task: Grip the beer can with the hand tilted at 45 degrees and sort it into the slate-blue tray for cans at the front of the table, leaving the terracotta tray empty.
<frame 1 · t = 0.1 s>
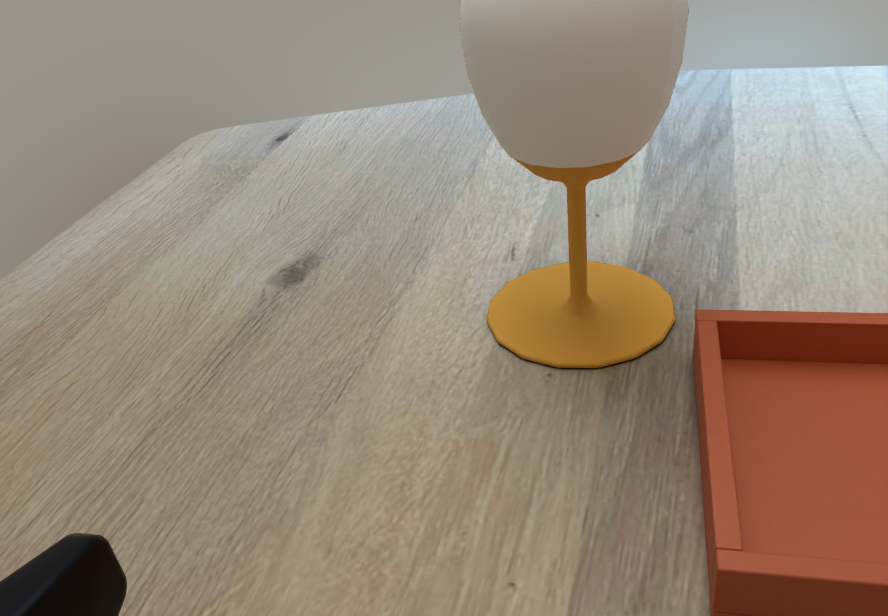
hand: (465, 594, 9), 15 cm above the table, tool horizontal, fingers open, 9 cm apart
cup: (579, 316, 40), on the table
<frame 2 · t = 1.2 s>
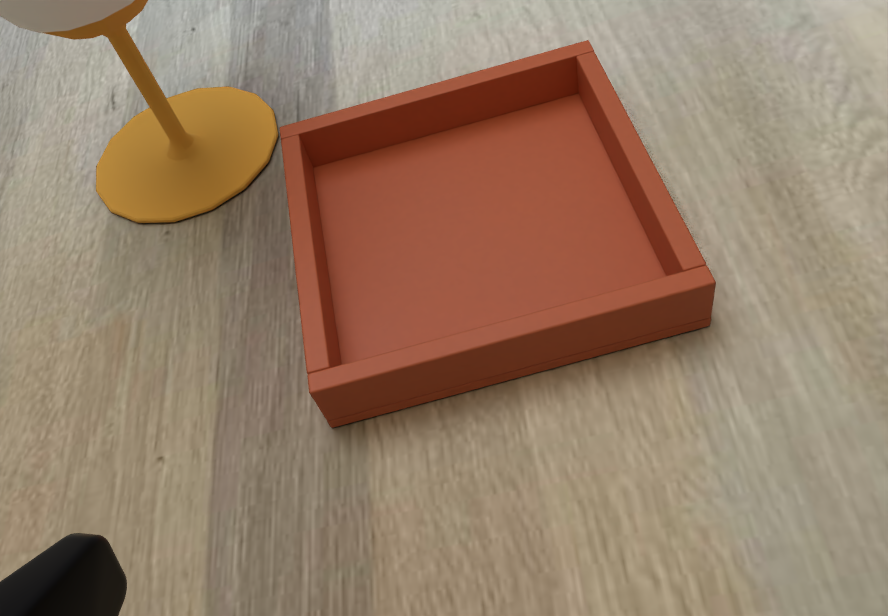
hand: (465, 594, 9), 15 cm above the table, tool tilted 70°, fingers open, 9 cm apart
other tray: (476, 236, 32), on the table
cup: (189, 156, 39), on the table
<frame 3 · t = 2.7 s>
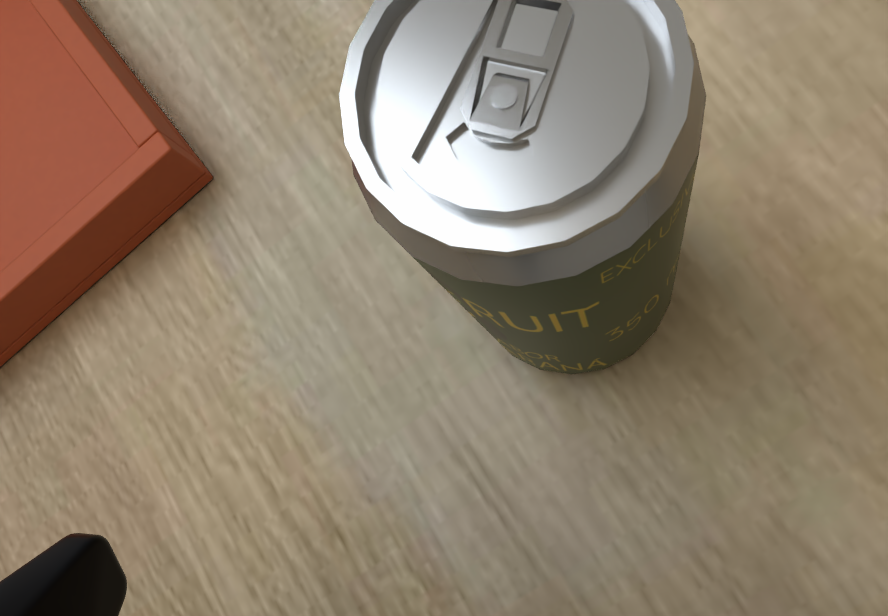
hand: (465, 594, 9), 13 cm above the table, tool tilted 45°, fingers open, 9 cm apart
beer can: (573, 283, 23), on the table
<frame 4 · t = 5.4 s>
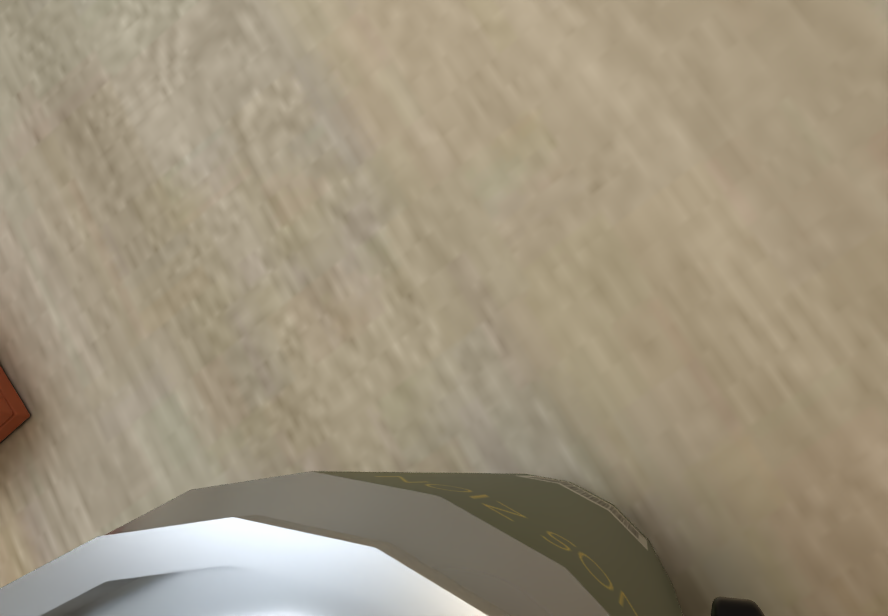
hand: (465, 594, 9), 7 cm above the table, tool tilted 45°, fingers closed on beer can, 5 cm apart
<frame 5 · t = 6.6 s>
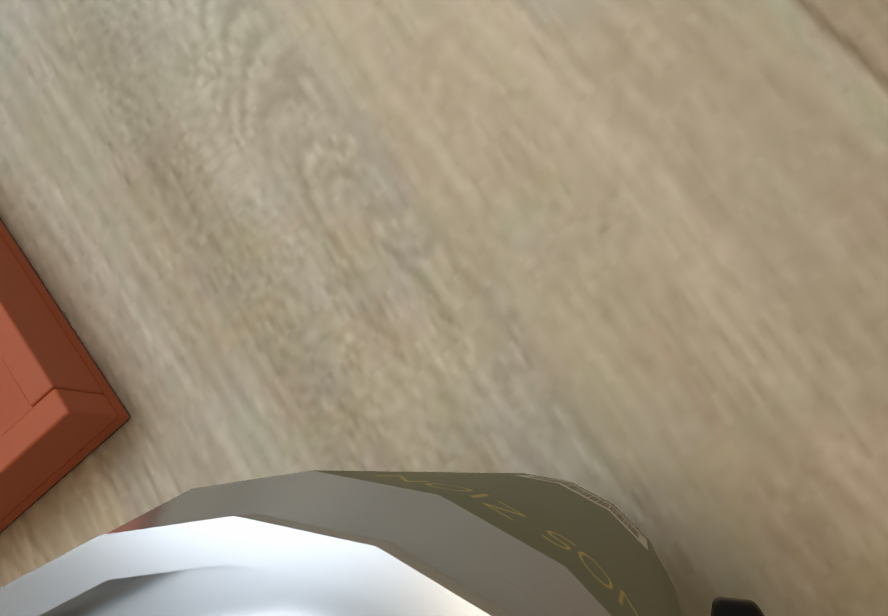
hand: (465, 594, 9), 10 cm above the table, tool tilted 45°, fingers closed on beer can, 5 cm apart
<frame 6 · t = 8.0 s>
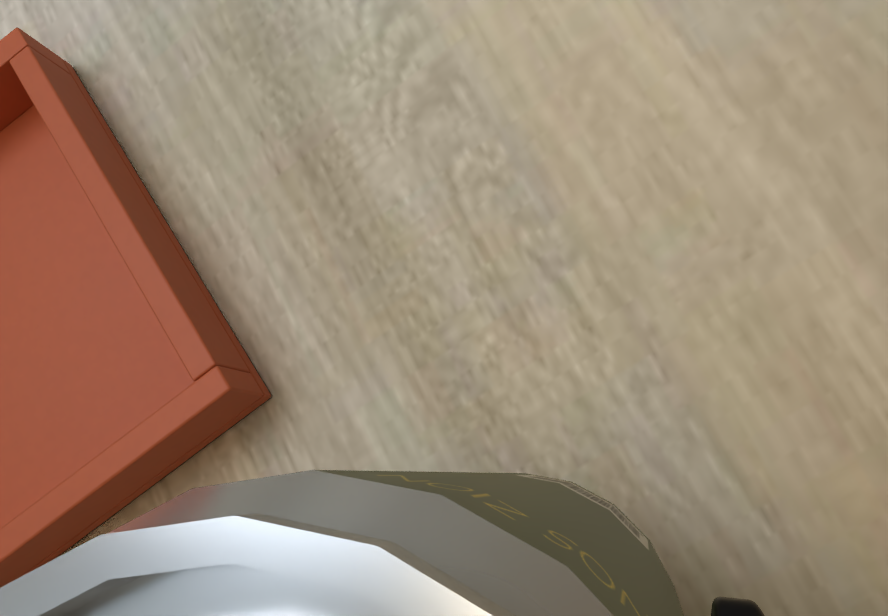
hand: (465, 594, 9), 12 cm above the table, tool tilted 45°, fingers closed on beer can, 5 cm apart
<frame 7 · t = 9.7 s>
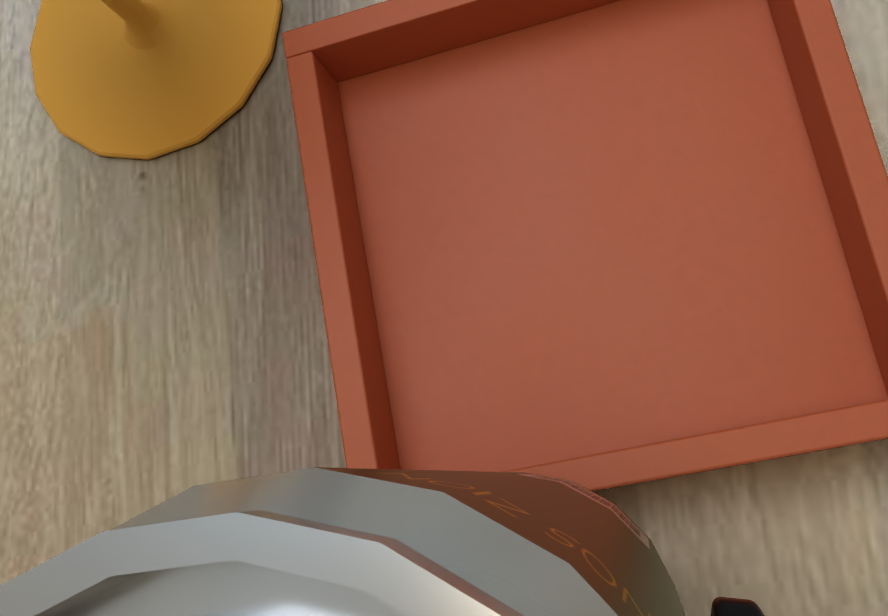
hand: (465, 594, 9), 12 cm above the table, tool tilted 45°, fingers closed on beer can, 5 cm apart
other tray: (582, 228, 22), on the table
cup: (157, 33, 27), on the table
when the fingers open (7 cm above the table, at t = 15.9 s): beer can stays where it is, resting on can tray.
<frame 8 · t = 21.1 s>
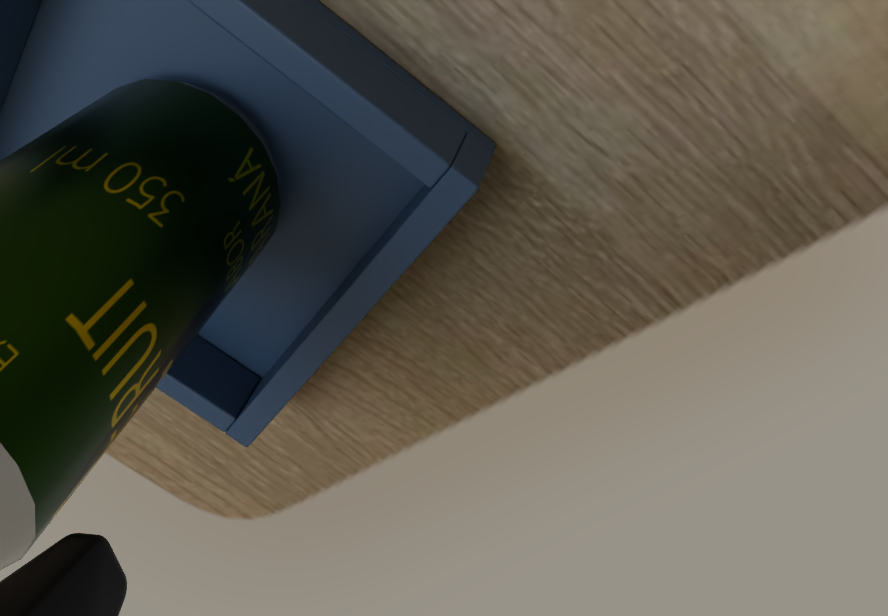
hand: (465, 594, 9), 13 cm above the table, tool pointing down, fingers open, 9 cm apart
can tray: (200, 161, 22), on the table
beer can: (198, 165, 22), resting on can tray
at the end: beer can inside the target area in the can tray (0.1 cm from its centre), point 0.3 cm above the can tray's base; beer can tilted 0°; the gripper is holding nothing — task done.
